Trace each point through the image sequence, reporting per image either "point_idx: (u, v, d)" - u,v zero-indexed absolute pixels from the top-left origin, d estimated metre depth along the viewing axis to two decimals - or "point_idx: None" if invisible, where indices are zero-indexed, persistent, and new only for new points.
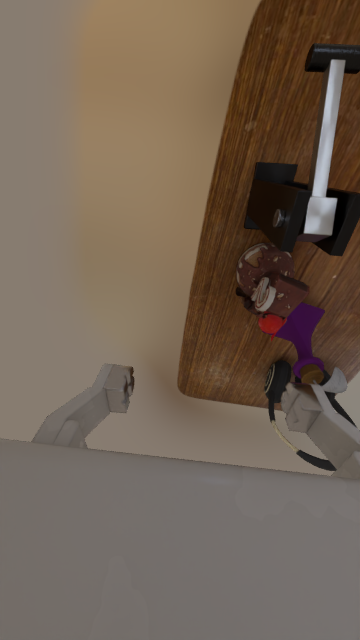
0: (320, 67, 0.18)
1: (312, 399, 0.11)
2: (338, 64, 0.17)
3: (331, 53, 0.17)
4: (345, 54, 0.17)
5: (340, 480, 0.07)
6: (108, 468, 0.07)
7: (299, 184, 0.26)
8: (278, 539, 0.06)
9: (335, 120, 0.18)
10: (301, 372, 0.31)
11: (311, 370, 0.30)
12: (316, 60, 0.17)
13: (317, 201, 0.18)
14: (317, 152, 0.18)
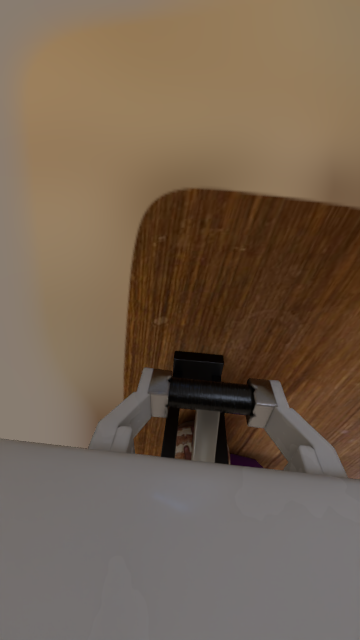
0: None
1: (268, 395, 0.11)
2: (209, 416, 0.11)
3: (196, 405, 0.11)
4: (219, 403, 0.11)
5: (340, 480, 0.07)
6: (108, 468, 0.07)
7: None
8: (278, 539, 0.06)
9: None
10: None
11: None
12: (176, 407, 0.11)
13: None
14: None
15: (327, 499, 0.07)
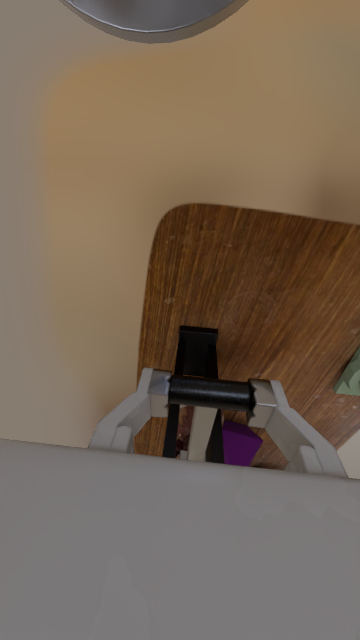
0: None
1: (268, 395, 0.11)
2: (207, 410, 0.12)
3: (195, 405, 0.12)
4: (217, 403, 0.11)
5: (340, 480, 0.07)
6: (108, 468, 0.07)
7: (209, 373, 0.26)
8: (277, 540, 0.06)
9: (205, 443, 0.14)
10: None
11: None
12: None
13: None
14: (188, 454, 0.16)
15: (327, 499, 0.07)
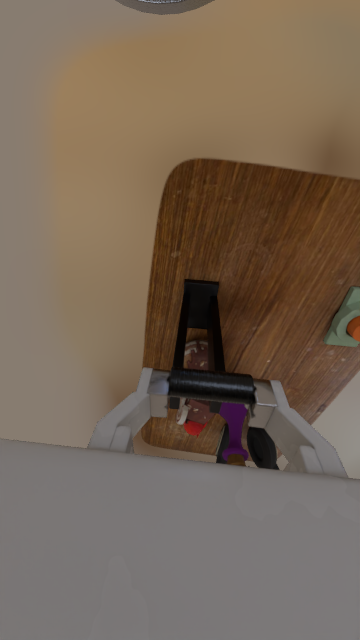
0: None
1: (268, 395, 0.11)
2: None
3: None
4: None
5: (340, 480, 0.07)
6: (108, 468, 0.07)
7: (211, 315, 0.30)
8: (277, 539, 0.06)
9: None
10: (227, 460, 0.35)
11: (233, 462, 0.34)
12: None
13: None
14: None
15: (327, 499, 0.07)
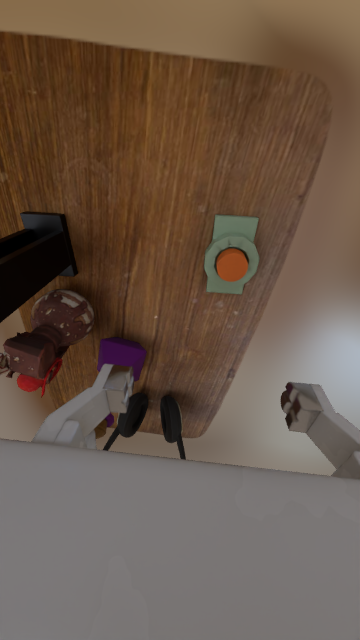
0: None
1: (312, 399, 0.11)
2: None
3: None
4: None
5: (340, 480, 0.07)
6: (108, 468, 0.07)
7: (30, 244, 0.25)
8: (278, 539, 0.06)
9: None
10: None
11: None
12: None
13: None
14: None
15: (327, 499, 0.07)
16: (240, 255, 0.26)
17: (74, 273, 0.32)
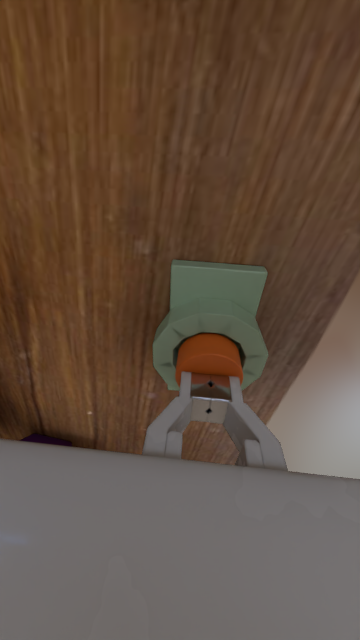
0: None
1: (225, 390, 0.11)
2: None
3: None
4: None
5: (340, 480, 0.07)
6: (108, 468, 0.07)
7: None
8: (278, 539, 0.06)
9: None
10: None
11: None
12: None
13: None
14: None
15: (327, 499, 0.07)
16: (225, 358, 0.11)
17: None
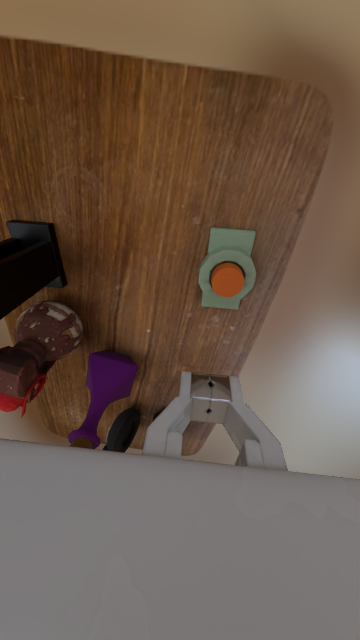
0: None
1: (225, 390, 0.11)
2: None
3: None
4: None
5: (340, 480, 0.07)
6: (108, 468, 0.07)
7: (13, 254, 0.23)
8: (277, 539, 0.06)
9: None
10: None
11: None
12: None
13: None
14: None
15: (327, 499, 0.07)
16: (236, 270, 0.25)
17: (63, 284, 0.31)
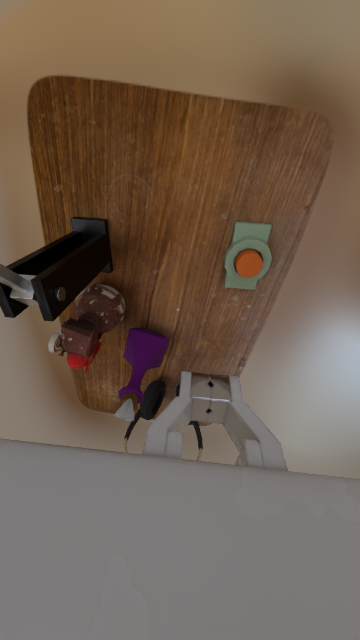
0: None
1: (225, 390, 0.11)
2: None
3: None
4: None
5: (340, 480, 0.07)
6: (108, 468, 0.07)
7: (84, 244, 0.30)
8: (277, 539, 0.06)
9: None
10: (121, 400, 0.36)
11: (123, 399, 0.34)
12: None
13: (19, 299, 0.22)
14: None
15: (327, 499, 0.07)
16: (256, 255, 0.31)
17: (110, 270, 0.37)
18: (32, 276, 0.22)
